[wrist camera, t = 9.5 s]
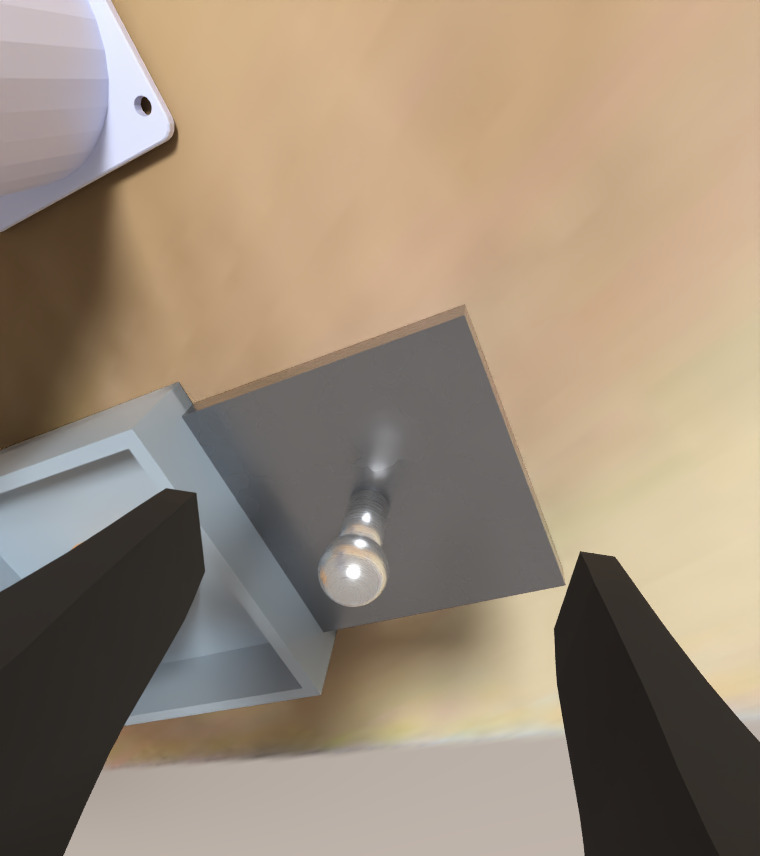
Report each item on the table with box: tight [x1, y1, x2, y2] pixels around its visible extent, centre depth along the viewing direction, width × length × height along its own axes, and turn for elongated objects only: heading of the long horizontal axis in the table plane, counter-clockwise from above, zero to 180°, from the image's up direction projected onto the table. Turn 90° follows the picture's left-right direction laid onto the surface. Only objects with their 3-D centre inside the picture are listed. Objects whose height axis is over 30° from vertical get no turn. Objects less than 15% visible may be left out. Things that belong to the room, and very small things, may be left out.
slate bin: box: [0, 382, 337, 726], centre depth 26 cm, size 14×14×4 cm
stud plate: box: [182, 305, 566, 632], centre depth 21 cm, size 12×12×6 cm
